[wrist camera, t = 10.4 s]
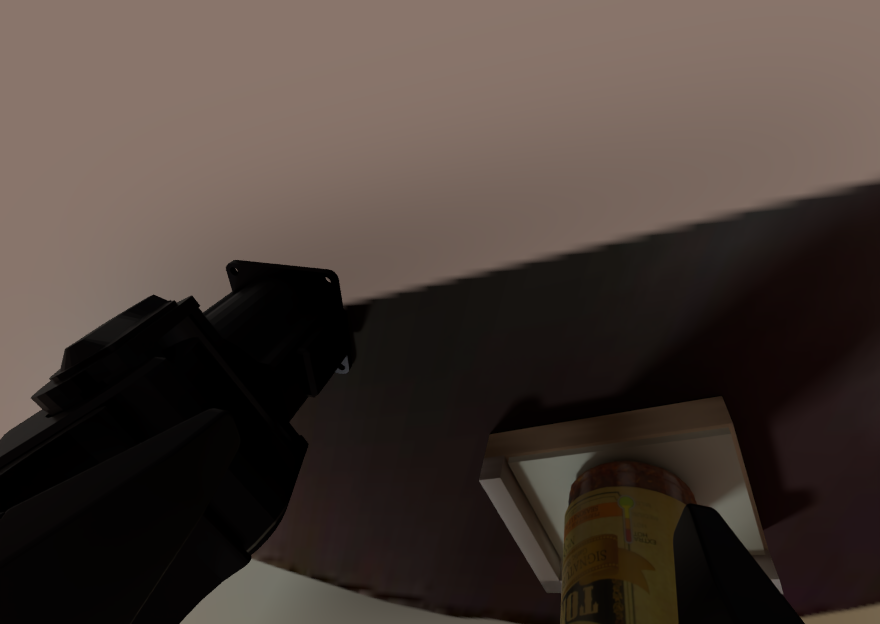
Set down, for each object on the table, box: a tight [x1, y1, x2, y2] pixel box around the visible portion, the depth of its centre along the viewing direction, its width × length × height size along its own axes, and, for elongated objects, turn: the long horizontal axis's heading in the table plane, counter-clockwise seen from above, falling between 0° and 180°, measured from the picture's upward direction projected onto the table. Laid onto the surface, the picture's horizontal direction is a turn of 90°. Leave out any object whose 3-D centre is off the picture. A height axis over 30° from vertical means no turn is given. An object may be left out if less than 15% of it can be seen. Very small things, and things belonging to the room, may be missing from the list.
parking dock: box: [479, 396, 783, 594], centre depth 24 cm, size 12×10×3 cm
